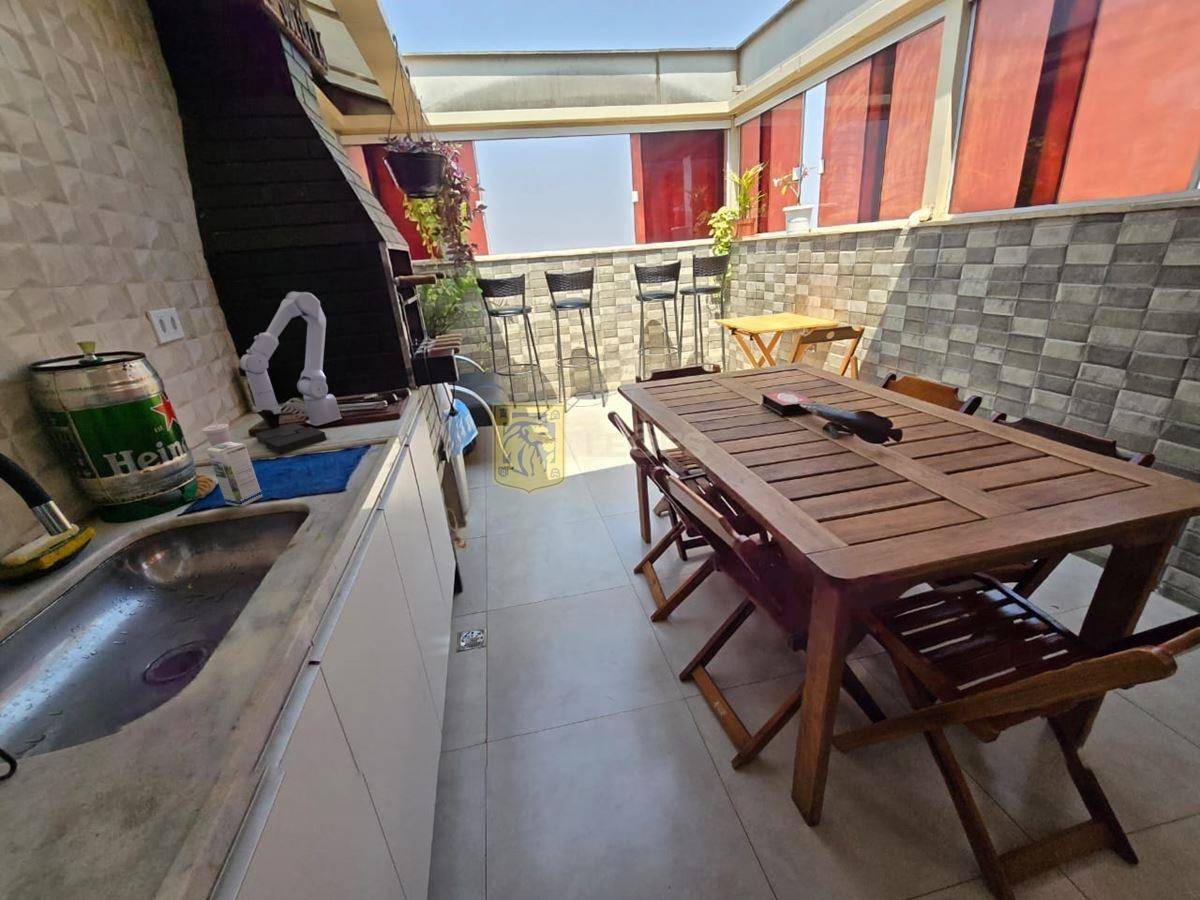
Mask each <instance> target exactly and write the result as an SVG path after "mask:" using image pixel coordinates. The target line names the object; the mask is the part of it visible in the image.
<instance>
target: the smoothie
mask: <svg viewBox="0 0 1200 900" xmlns="http://www.w3.org/2000/svg"><path fill="white" fill-rule="evenodd" d="M210 414H211V417H212V420H213V422H214V424H211V425H209V426H206V427H204V428H202V434H204V435H205V436H206V438H207V440H208V441H209V443H210V446H211V447H213V446H216V445H219V444H222V443H226V442H232V437H231V432H230V429H231V426H230V425H229V423H218V421H217V418H216V416H215V414H214V412H211V413H210Z"/></svg>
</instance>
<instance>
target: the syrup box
mask: <svg viewBox="0 0 1200 900" xmlns="http://www.w3.org/2000/svg"><path fill="white" fill-rule="evenodd" d="M206 453H207V456H208V458H209V461H210V464H211V467H212V469H213V472H214V475H215V478H216V480H217V483H218V485H219V488H220V491H221V494H222V497H223V499H224V501H225V499H226V500H231V501H236V502H240V501H243V500H244V499H247V498H249V497H251V496H253V495H255V494H257V493H259V492H261V493H262V491H261V487H260V484H259V482H258V478H257V476H256V472H255V470H254V467H253V463H252V460H251V458H250V454H249V452H248V449H247V446H246V444H245V443H240V442H233V441H231V442H226V443H222V444H219V445H216V446H213V447H212V446H211V447H208V448H207V449H206ZM261 498H263V493H262V494H261V495H258V496H256V497H254V498H252V499H250V500H248V501H246V502H244V503H242V504H235V503H231V502H227V501H225V504H226V505H230V506H233V507H239V508H243V507H245V506H247V505H249V504H251V503H253V502H256V501H258V500H259V499H261Z"/></svg>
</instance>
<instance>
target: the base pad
mask: <svg viewBox="0 0 1200 900" xmlns="http://www.w3.org/2000/svg"><path fill="white" fill-rule="evenodd" d="M296 432H297V434H294V435H290V436H287V437H284V438H283V437H281V436H277V437H273V438H270V439H267V440H264V442H265V444H264V445H265V447H266V449H269V450H270V451H273V452H274V453H277V454H278V455H282V454H285V453H288V452H292V451H295V450H298V449H301V448H304V447H308V446H311V445H314V444H316V443H320V442H323V441H326V440H327V436H326V432H325V431H323V430H320V429H317V428H315V427H312V426H308V427H305V428H304V429H301V430H297V431H296Z"/></svg>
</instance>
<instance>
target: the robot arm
mask: <svg viewBox="0 0 1200 900" xmlns="http://www.w3.org/2000/svg"><path fill="white" fill-rule="evenodd" d="M276 311H277V312H276V313H275V315H274V316H273V318H272V320H271V322H270V324H269V326H268V327H267V329H266V331H265V332H259V333H258V335H255V336H254V337H253V339H254V342H253V343H252V344H251V346H250V347H249V348H248V349H246V354H243V355H242V356H241V358H240V359H239V361H240V363H239V367H240V368H241V369H242V370H244V372H245V374H246V375H245V376H246V378H247V381H248V382H247V383H248V385H249V389H250V391H251V394H252V397H253V399H254V404H255V406H252V410H254V411H257V414H258V415H259V417H260V418H262V420H263V421H264V422H265V424H266V426H267V427H268V430H271V429H274V428H278V427H280V416H281V413H282V410H281V407H280V406H279V402H278V401H277V398H276V394H275V391H274V388H273V385H272V383H271V379H270V376H269V374H268V373H269V372H268V369H269V360H270V359H271V357H272V356H273V354H274V352H275V351H276V349H277V347H278V346H279V344H280V342H279V339H278V337H279V336H280V335H281V333H282V332H283V330H284V329H285V328H286V326H287V325H288V323H289V322H290V320H292V318H296V317H298V316H300V317H301V318H303V319H304V320H305V321H306V323H307V328H306V341H305V342H306V344H305V355H304V357H305V358H304V369H303V370H302V371H301V373H300V378H299V380H298V381H297V383H296V387H297V390H298V392H299V393H300V394H302V395H303V397H302V398H303V402H304V405H305V409H306V412H307V415H308V419H307V420H306V421H305V423H306V424H309V425H311V426H314V427H319V426H323V425H325V424H328V423H333V422H335V421H339V420H342V419H343V417H342V416H341V412H340V408H339V404H338V401H337V399H336V397H335V395H333V394H332V393H329V394H328V392H329V387H328V384H327V377H326V375H325V373H324V371H323V370H324V369H323V368H324V367H323V366H324V356H325V355H324V354H325V341H326V327H327V318H326V316H325V313H324V311H323V309H322V306H321V301H320V300H319V299H318V298H317V297H316V296H315V295H314V294H313V293H311V292H309V291H303V292H302V291H290V292H288V293H287V294H286V295H285V298H284V299H282V300H281V302H280V305H279V308H278V309H277V310H276ZM258 410H260V411H258Z"/></svg>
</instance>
